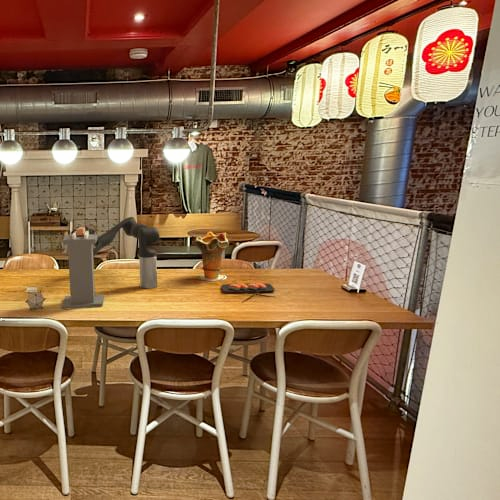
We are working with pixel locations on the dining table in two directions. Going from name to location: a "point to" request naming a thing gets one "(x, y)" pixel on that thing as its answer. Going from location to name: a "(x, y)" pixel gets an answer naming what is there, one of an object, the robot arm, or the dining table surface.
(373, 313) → the dining table surface
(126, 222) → the robot arm
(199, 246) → the decorative vase
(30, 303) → the game die
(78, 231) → the bar
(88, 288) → the stand
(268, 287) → the sushi plate
